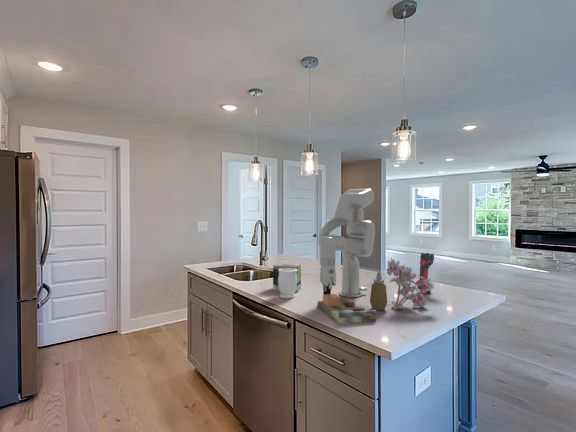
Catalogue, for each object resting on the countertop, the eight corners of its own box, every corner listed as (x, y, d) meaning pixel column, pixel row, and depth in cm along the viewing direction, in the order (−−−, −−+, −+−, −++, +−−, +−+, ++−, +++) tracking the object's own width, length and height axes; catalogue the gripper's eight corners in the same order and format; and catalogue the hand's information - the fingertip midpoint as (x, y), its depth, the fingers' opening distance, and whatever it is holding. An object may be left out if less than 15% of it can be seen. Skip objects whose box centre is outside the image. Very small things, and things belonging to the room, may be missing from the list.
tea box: (301, 288, 196) (301, 264, 195) (297, 292, 186) (297, 266, 186) (277, 286, 199) (277, 262, 199) (272, 290, 190) (272, 265, 189)
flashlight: (436, 294, 187) (437, 254, 186) (423, 294, 185) (424, 254, 185) (428, 290, 194) (429, 252, 194) (416, 291, 193) (417, 252, 193)
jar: (295, 299, 170) (295, 271, 170) (275, 298, 172) (276, 270, 172) (298, 294, 180) (298, 268, 180) (280, 293, 182) (280, 267, 182)
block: (334, 302, 158) (334, 293, 158) (339, 305, 152) (339, 297, 152) (322, 302, 157) (323, 294, 157) (327, 306, 151) (327, 297, 151)
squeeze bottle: (374, 305, 162) (374, 269, 161) (389, 309, 156) (390, 271, 156) (366, 309, 155) (367, 271, 155) (382, 312, 150) (383, 274, 150)
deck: (349, 303, 164) (349, 295, 164) (376, 321, 139) (376, 310, 139) (317, 306, 159) (317, 297, 159) (339, 324, 134) (339, 313, 134)
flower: (430, 317, 140) (438, 262, 149) (377, 304, 150) (388, 254, 159) (430, 323, 157) (437, 274, 165) (382, 312, 167) (391, 266, 175)
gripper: (340, 264, 153) (340, 302, 153) (329, 259, 167) (328, 294, 168) (325, 264, 151) (325, 303, 151) (315, 259, 165) (314, 295, 166)
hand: (326, 298), depth 159 cm, fingers closed
